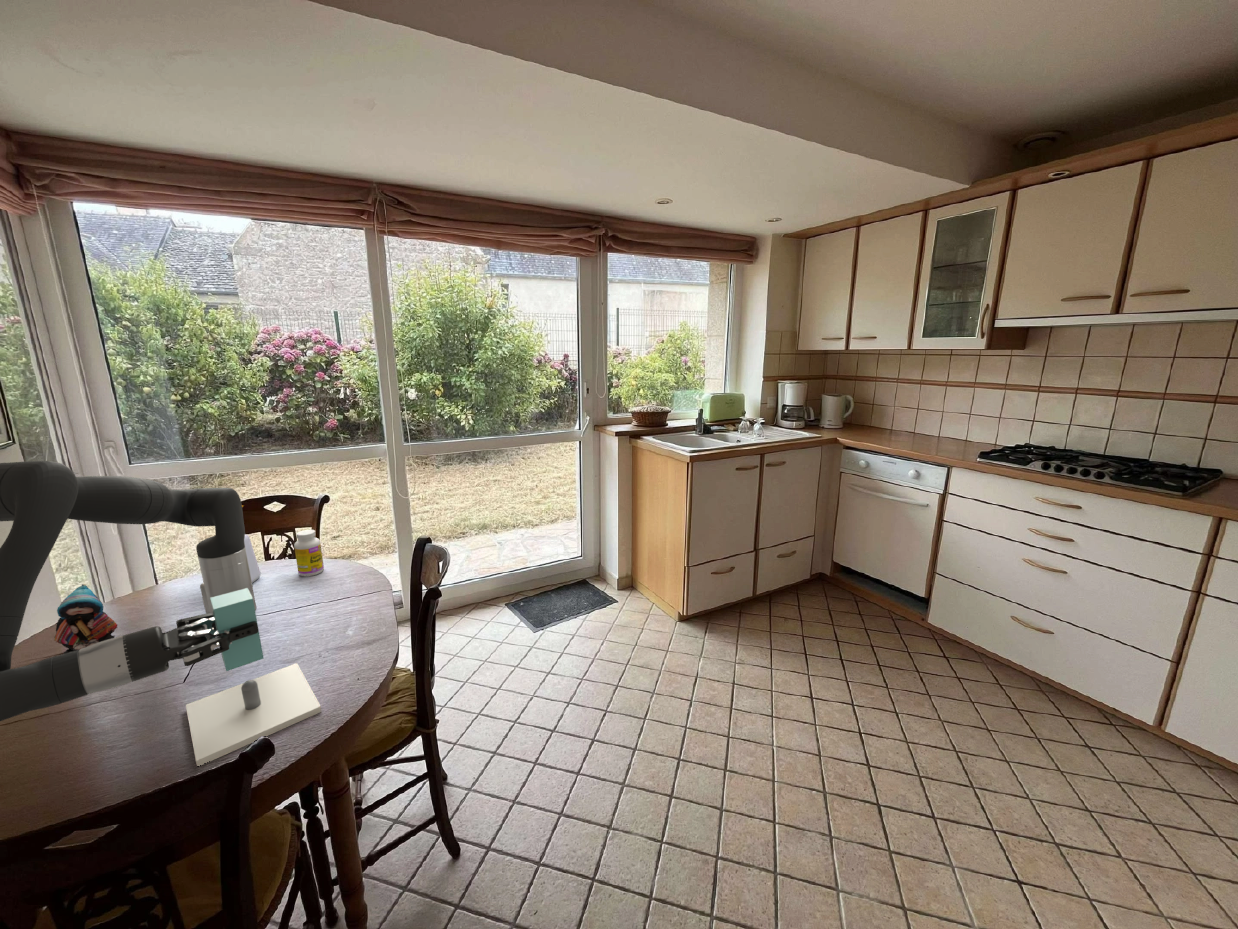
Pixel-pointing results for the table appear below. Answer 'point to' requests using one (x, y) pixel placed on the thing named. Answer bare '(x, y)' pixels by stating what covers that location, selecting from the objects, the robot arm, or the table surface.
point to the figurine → (82, 620)
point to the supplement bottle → (308, 553)
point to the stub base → (249, 712)
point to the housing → (234, 613)
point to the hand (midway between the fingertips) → (253, 620)
